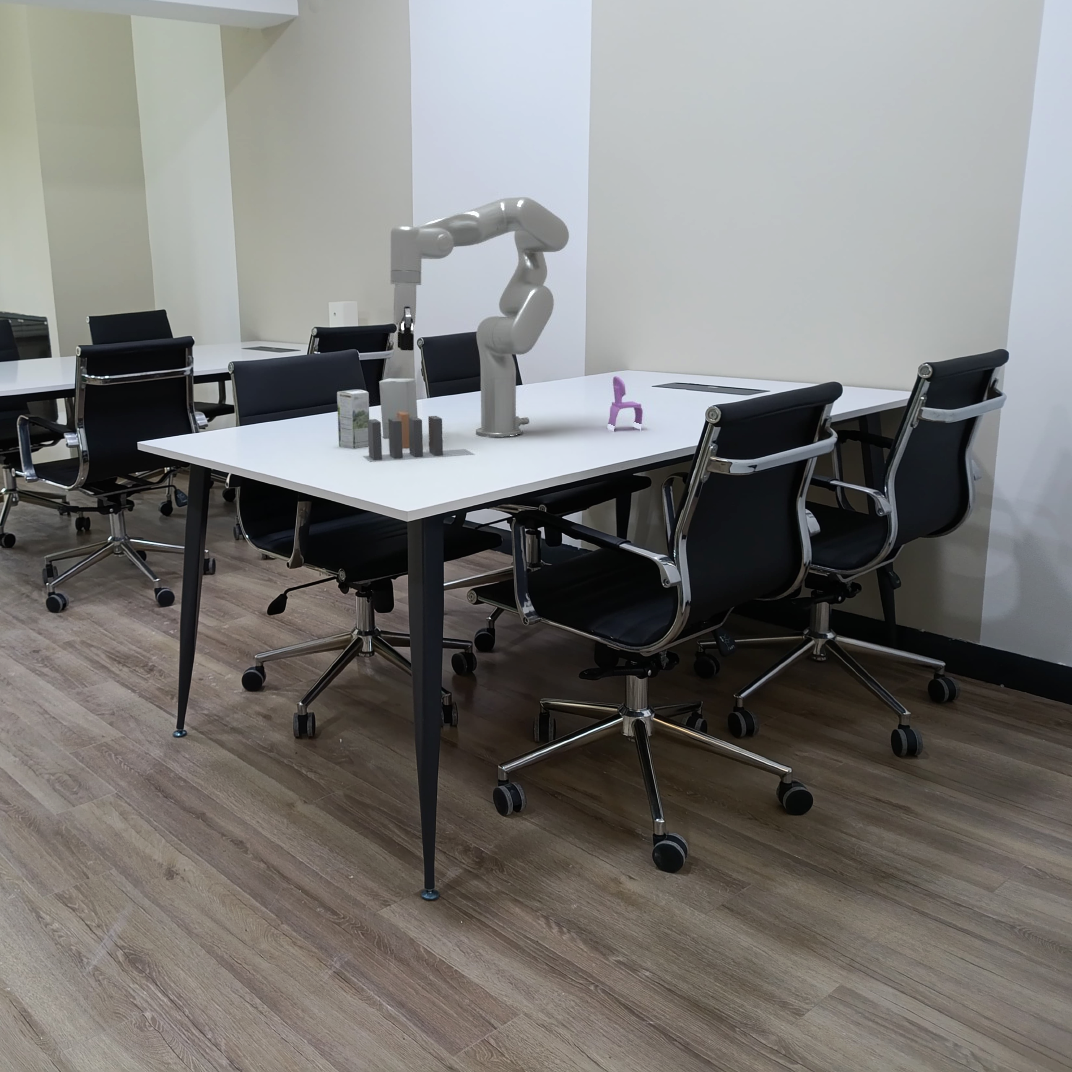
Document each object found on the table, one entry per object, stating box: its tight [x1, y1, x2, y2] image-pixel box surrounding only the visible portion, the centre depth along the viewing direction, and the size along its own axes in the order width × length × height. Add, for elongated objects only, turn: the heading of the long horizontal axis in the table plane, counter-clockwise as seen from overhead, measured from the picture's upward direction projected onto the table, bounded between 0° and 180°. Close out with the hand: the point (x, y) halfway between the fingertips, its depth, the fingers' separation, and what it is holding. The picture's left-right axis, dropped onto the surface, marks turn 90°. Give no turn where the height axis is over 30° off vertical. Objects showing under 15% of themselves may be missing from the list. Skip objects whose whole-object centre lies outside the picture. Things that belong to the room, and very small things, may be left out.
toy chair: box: [607, 376, 644, 427], centre depth 294 cm, size 8×9×15 cm
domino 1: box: [368, 418, 383, 460], centre depth 250 cm, size 2×5×9 cm, turn 21°
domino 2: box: [388, 418, 404, 459], centre depth 252 cm, size 2×5×9 cm, turn 21°
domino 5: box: [427, 415, 444, 456], centre depth 255 cm, size 2×5×9 cm, turn 21°
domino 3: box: [397, 412, 410, 450], centre depth 266 cm, size 2×5×9 cm, turn 21°
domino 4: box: [408, 417, 424, 457], centre depth 254 cm, size 2×5×9 cm, turn 21°
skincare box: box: [378, 377, 419, 439], centre depth 281 cm, size 8×7×16 cm
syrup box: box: [336, 389, 370, 450], centre depth 266 cm, size 6×6×14 cm
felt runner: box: [362, 448, 475, 463], centre depth 255 cm, size 26×8×1 cm, turn 111°
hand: (405, 349), depth 262 cm, fingers open, 9 cm apart
